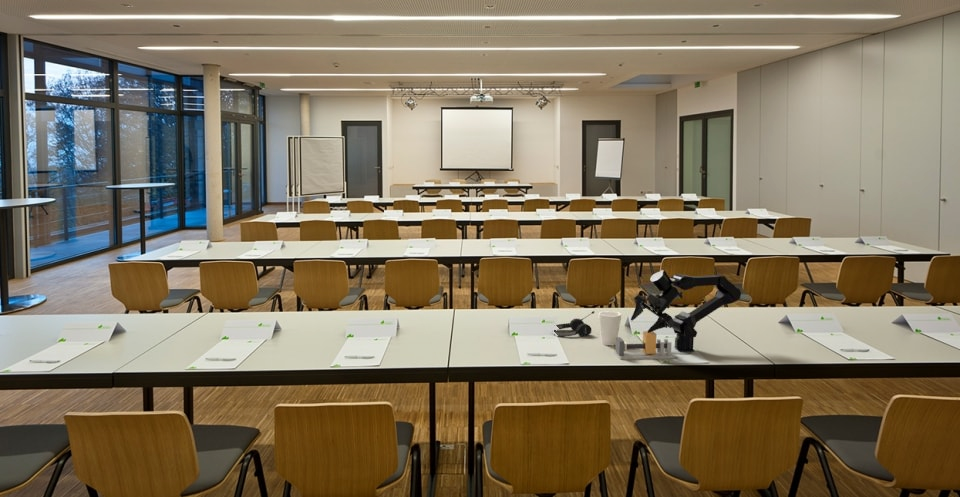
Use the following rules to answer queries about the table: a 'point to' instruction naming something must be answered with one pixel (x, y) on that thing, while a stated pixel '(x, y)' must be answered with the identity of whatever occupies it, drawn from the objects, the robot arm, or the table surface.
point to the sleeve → (649, 342)
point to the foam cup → (609, 326)
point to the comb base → (639, 354)
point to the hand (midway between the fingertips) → (639, 326)
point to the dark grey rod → (640, 346)
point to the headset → (574, 328)
